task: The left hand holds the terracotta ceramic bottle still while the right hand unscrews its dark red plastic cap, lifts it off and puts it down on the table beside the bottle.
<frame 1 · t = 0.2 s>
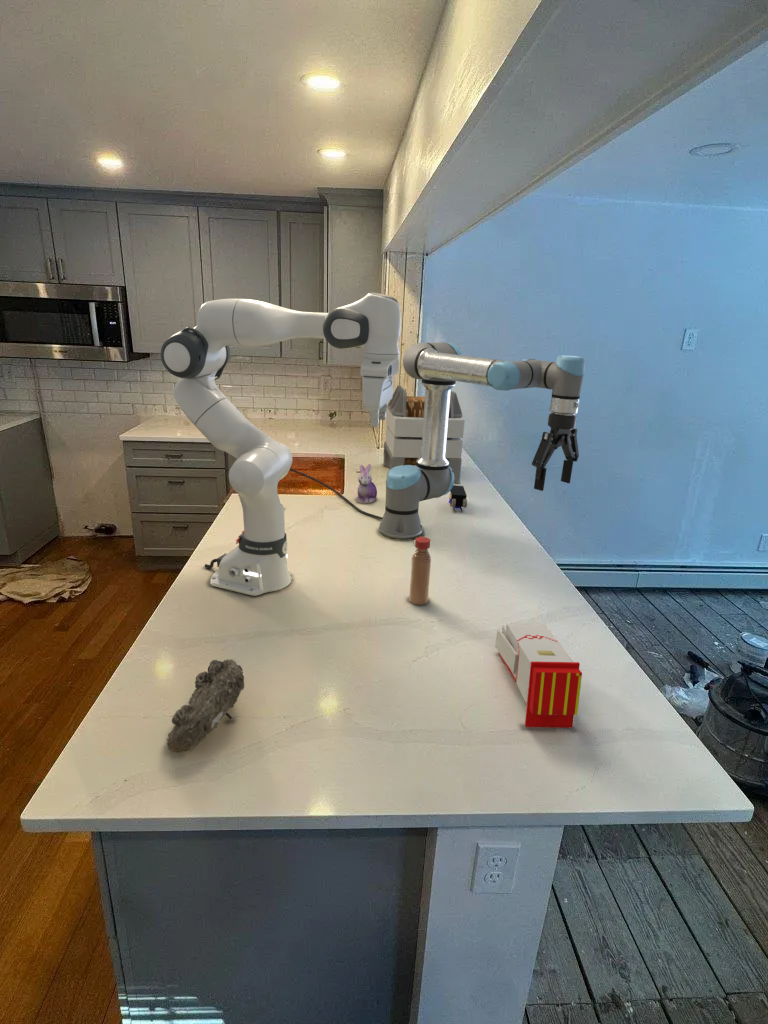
left hand: (378, 422, 141), 48 cm above the counter, tool pointing down, fingers open, 8 cm apart
right hand: (552, 485, 166), 28 cm above the counter, tool pointing down, fingers open, 13 cm apart
fossil: (212, 717, 108), on the counter
figurine character: (456, 507, 229), on the counter
figurine: (366, 500, 233), on the counter
cap: (422, 540, 149), point 18 cm above the counter, screwed on, not yet turned
toy: (529, 684, 122), on the counter
bottle: (418, 600, 155), on the counter
slatted wooden crate: (419, 473, 275), on the counter
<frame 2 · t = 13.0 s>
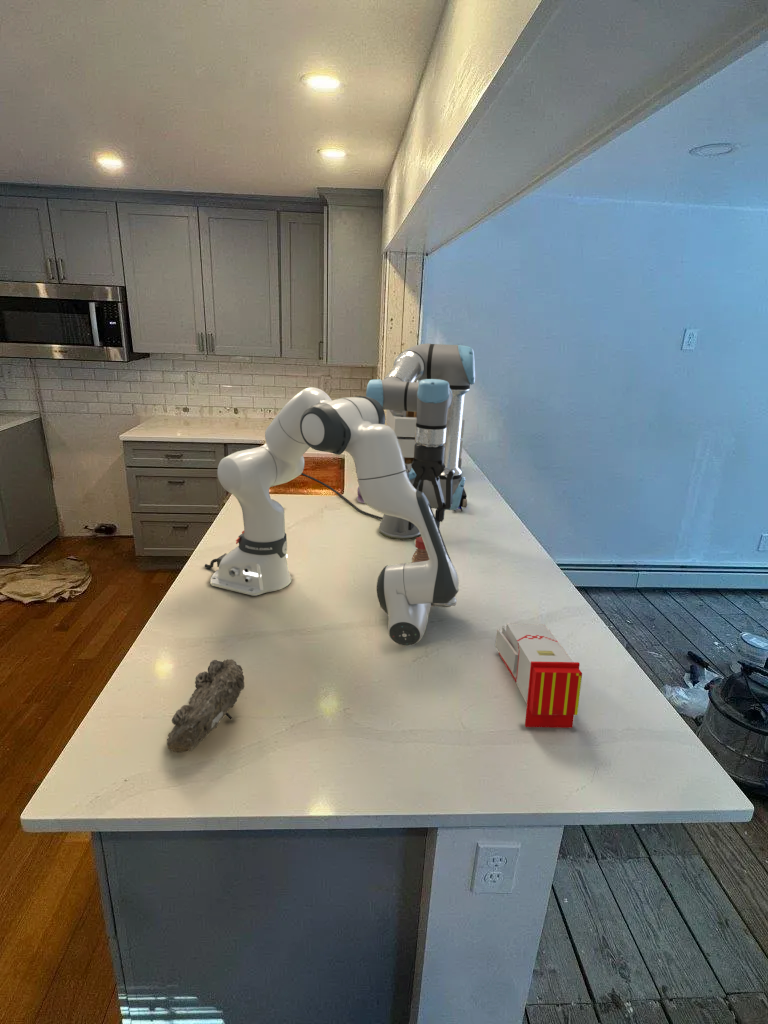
left hand: (420, 577, 154), 7 cm above the counter, tool horizontal, fingers closed on bottle, 5 cm apart
right hand: (423, 530, 148), 21 cm above the counter, tool pointing down, fingers open, 6 cm apart
bottle: (418, 600, 155), on the counter, touching left hand
everything else where it was.
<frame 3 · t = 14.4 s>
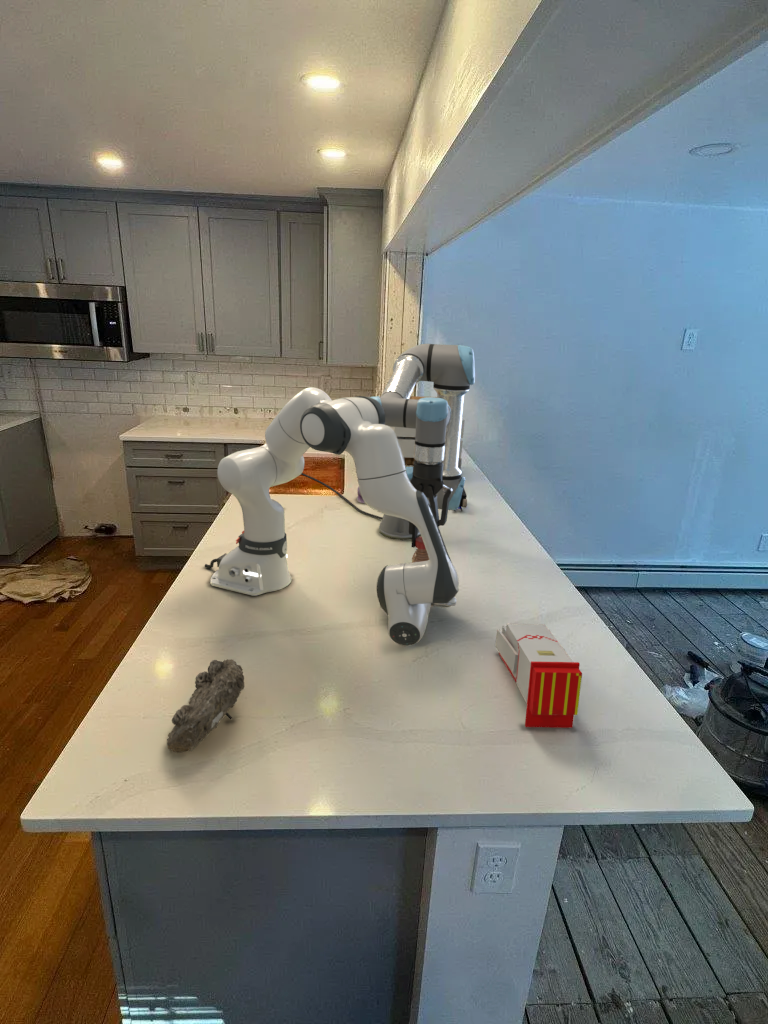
left hand: (420, 577, 154), 7 cm above the counter, tool horizontal, fingers closed on bottle, 5 cm apart
right hand: (422, 546, 150), 16 cm above the counter, tool pointing down, fingers closed on cap, 4 cm apart
cap: (422, 540, 149), point 18 cm above the counter, screwed on, not yet turned, touching right hand
bottle: (418, 600, 155), on the counter, touching left hand
everything else where it was.
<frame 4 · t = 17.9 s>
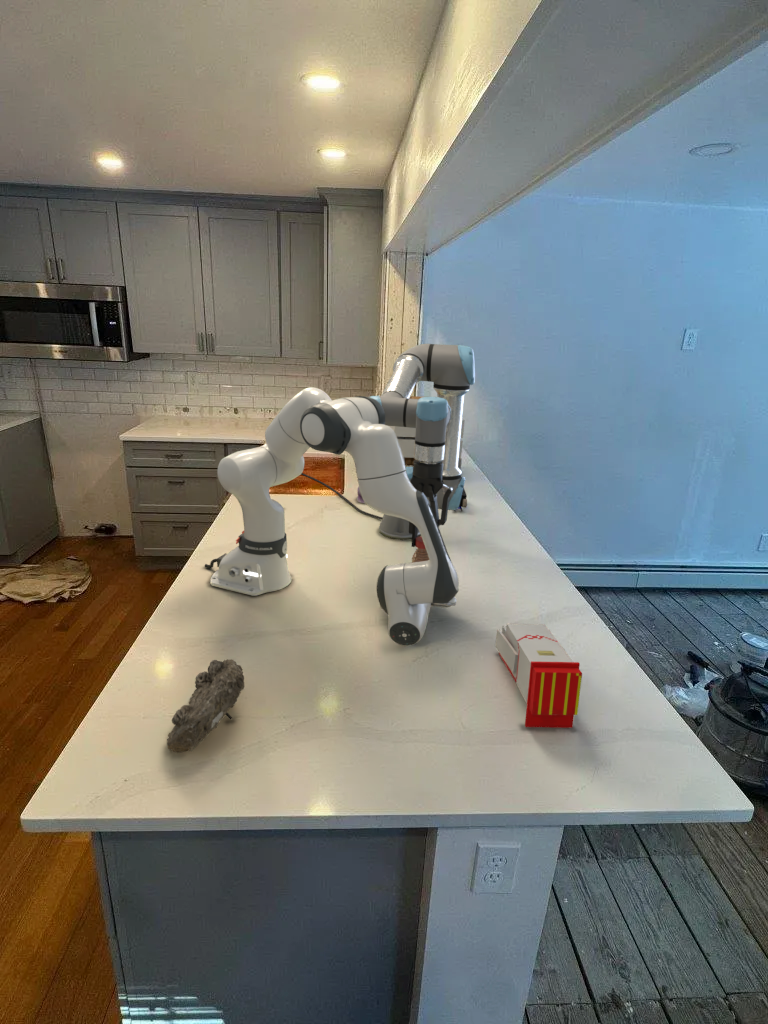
left hand: (420, 577, 154), 7 cm above the counter, tool horizontal, fingers closed on bottle, 5 cm apart
right hand: (422, 546, 150), 16 cm above the counter, tool pointing down, fingers closed on cap, 4 cm apart
cap: (422, 540, 149), point 18 cm above the counter, turned 111° so far, risen 0.1 cm, still on its thread, touching right hand
bottle: (418, 600, 155), on the counter, touching left hand
everything else where it was.
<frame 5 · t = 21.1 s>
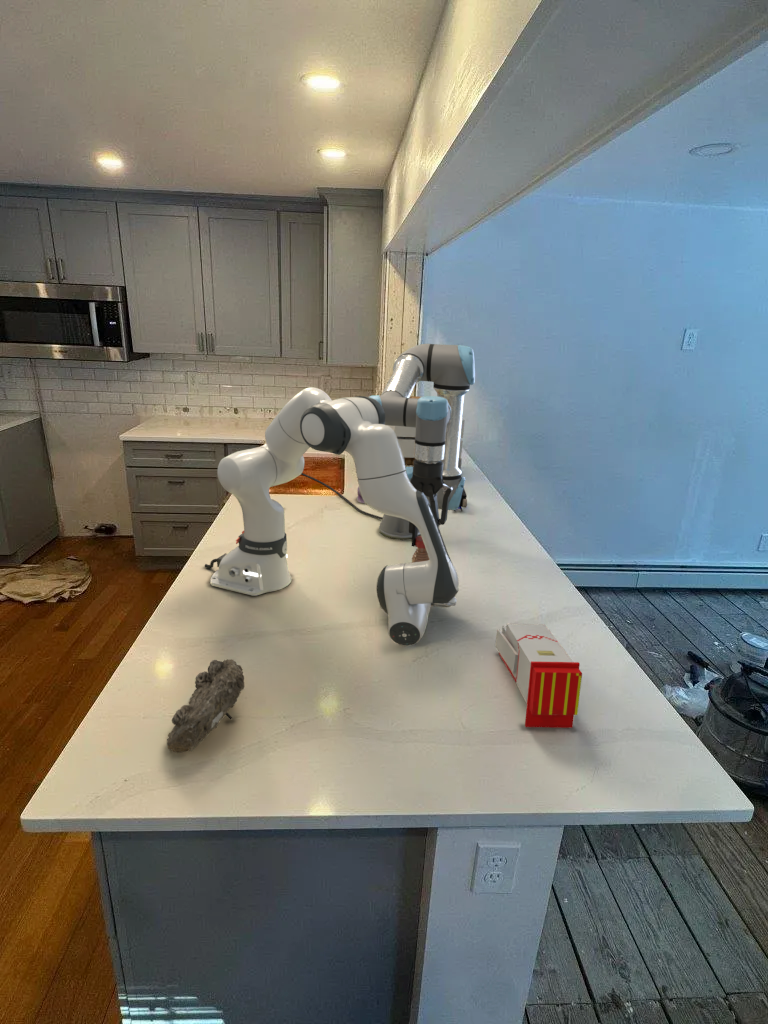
left hand: (420, 577, 154), 7 cm above the counter, tool horizontal, fingers closed on bottle, 5 cm apart
right hand: (422, 545, 150), 16 cm above the counter, tool pointing down, fingers closed on cap, 4 cm apart
cap: (422, 539, 149), point 18 cm above the counter, turned 222° so far, risen 0.3 cm, still on its thread, touching right hand
bottle: (418, 600, 155), on the counter, touching left hand
everything else where it was.
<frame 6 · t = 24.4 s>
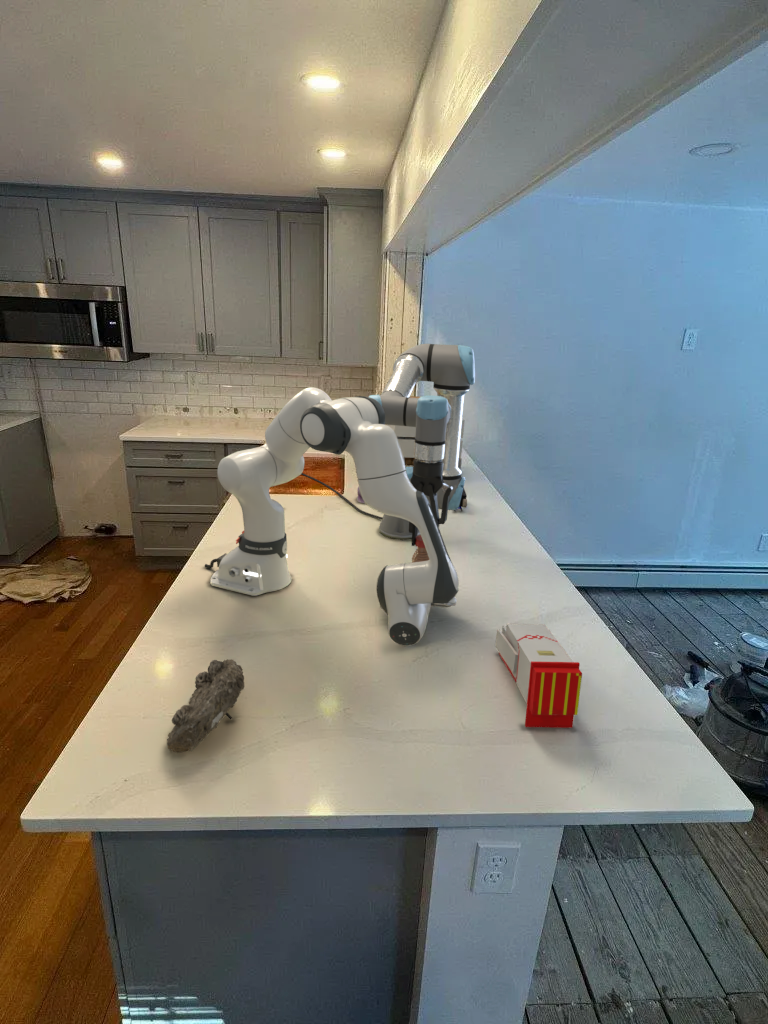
left hand: (420, 577, 154), 7 cm above the counter, tool horizontal, fingers closed on bottle, 5 cm apart
right hand: (422, 545, 149), 16 cm above the counter, tool pointing down, fingers closed on cap, 4 cm apart
cap: (422, 539, 149), point 18 cm above the counter, turned 332° so far, risen 0.4 cm, still on its thread, touching right hand
bottle: (418, 600, 155), on the counter, touching left hand
everything else where it was.
when the right hand's fingers open (1 cm above the counter, at t = 31.4 s): cap stays where it is, point 2 cm above the counter.
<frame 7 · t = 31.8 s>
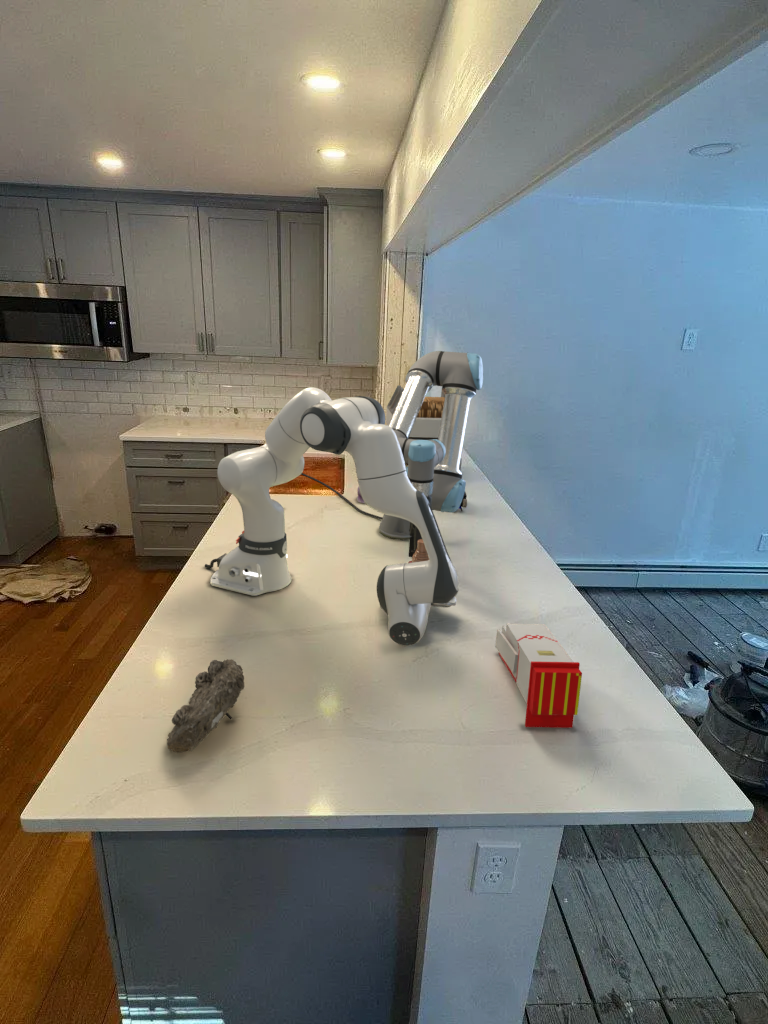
left hand: (420, 577, 154), 7 cm above the counter, tool horizontal, fingers closed on bottle, 5 cm apart
right hand: (414, 563, 173), 2 cm above the counter, tool pointing down, fingers open, 9 cm apart
cap: (414, 564, 173), point 2 cm above the counter, off its thread
bottle: (418, 600, 155), on the counter, touching left hand
everything else where it was.
when the left hand's fingers open (7 cm above the counter, at t = 32.8 s): bottle stays where it is, on the counter.
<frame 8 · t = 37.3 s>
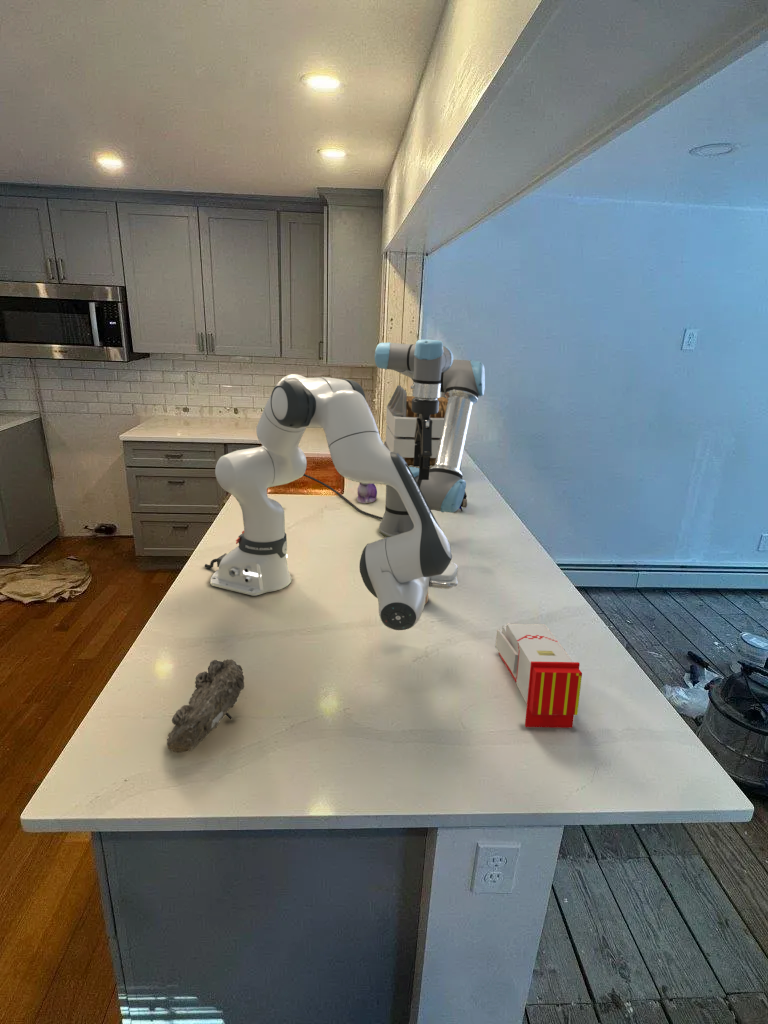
left hand: (417, 556, 137), 18 cm above the counter, tool horizontal, fingers open, 8 cm apart
right hand: (420, 472, 163), 31 cm above the counter, tool pointing down, fingers open, 13 cm apart
bottle: (418, 600, 155), on the counter
everything else where it was.
at the end: cap came off its thread; cap point 1.7 cm above the counter; the left hand is holding nothing; the right hand is holding nothing; bottle tilted 0°; bottle moved 0.0 cm from its start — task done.
